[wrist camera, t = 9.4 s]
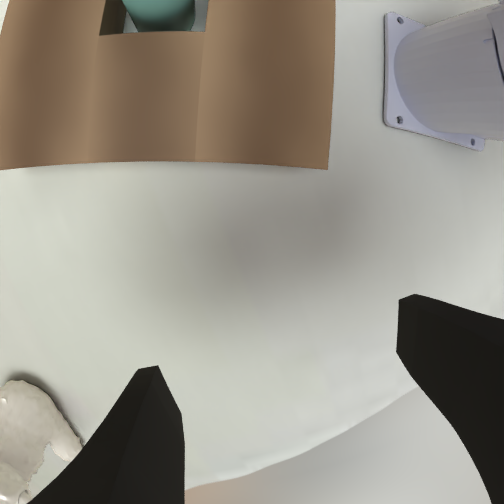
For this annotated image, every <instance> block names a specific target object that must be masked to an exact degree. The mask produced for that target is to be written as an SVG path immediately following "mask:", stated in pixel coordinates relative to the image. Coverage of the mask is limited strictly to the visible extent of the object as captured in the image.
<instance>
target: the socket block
mask: <svg viewBox="0 0 504 504" xmlns="http://www.w3.org/2000/svg"><path fill="white" fill-rule="evenodd" d="M126 10H127V9H126V7H125V5H124V3H123V1H122V0H10V1H9V4H8V7H7V11H6V15H5V18H4V22H3V26H2V30H1V35H0V170H7V169H16V168H26V167H37V166H49V165H62V164H78V163H99V162H133V161H189V162H224V163H246V164H263V165H278V166H291V167H303V168H314V169H324V170H327V169H328V158H329V146H330V133H331V119H332V103H333V84H334V59H335V0H209V2H208V10H207V18H206V27H205V32H194V31H162V32H138V33H123V27H124V21H125V15H126ZM122 33H123V34H122Z"/></svg>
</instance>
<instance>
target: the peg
mask: <svg viewBox="0 0 504 504" xmlns="http://www.w3.org/2000/svg"><path fill="white" fill-rule="evenodd" d="M122 1H123V3H124V5H125V7H126V9H127V11H128V13H129V15H130V17H131V19H132V21H133V23H134V24H135V26H136V28H137V30H138V32H162V31H190V29H191V28H192V26H193V23H194V16H195V0H122Z"/></svg>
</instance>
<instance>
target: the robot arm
mask: <svg viewBox="0 0 504 504" xmlns="http://www.w3.org/2000/svg"><path fill="white" fill-rule="evenodd" d="M499 2H500V3H498V4H495V5H491V6H487V7H484V8H480V9H477V10H474V11H470V12H467V13H464V14H461V15H458V16H455V17H452V18H449V19H446V20H443V21H440V22H438V23H435V24H432V25H429V26H426V25H423V24H421V23H419V22H416V21H414V20H412V19H409V18H407V17H404V16H402V15H399V14H397V13H394V12H388V13H386V15H385V99H384V121H385V123H386V124H387V125H388V126H390V127H394V128H399V129H403V130H407V131H411V132H415V133H419V134H422V135H426V136H430V137H433V138H437V139H441V140H444V141H447V142H451V143H454V144H457V145H460V146H464V147H467V148H470V149H473V150H476V151H483V149H484V144H485V139H491V140H500V141H504V0H499ZM397 19H398V20H399V21H400V23H399V22H398V21H397ZM397 117H399V119H400V122H399V124H398V123H397V120H396V119H397ZM396 353H397V354H398V356H399V358H400V359H401V361H402V363H403V364H404V366H405V367H406V369H407V371H408V372H409V374H410V375H411V377H412V378H413V379H414V380H415V382H416V383H417V384H418V385H419V386H420V387H421V389H422V390H423V391H424V392H425V394H426V395H427V396H428V397H429V398H430V400H432V402H433V403H434V404H435V405H436V407H437V408H438V409H439V410H440V411H441V413H442V414H443V415H444V416H445V418H446V419H447V420H448V421H449V423H450V424H451V425H452V427H453V428H454V429H455V431H456V432H457V434H458V435H459V437H460V439H461V441H462V442H463V444H464V446H465V447H466V449H467V451H468V452H469V454H470V456H471V458H472V460H473V462H474V464H475V466H476V468H477V469H478V471H479V473H480V476H481V478H482V480H483V483H484V485H485V487H486V490H487V492H488V494H489V497H490V500H491V503H492V504H504V319H500V318H496V317H492V316H488V315H485V314H481V313H478V312H475V311H471V310H468V309H465V308H462V307H459V306H455V305H452V304H449V303H446V302H443V301H440V300H436V299H433V298H430V297H426V296H422V295H418V294H413V295H410V296H408V297H405V298H402V299H399V311H398V333H397V348H396ZM184 472H185V441H184V432H183V423H182V415H181V412H180V410H179V408H178V406H177V404H176V402H175V400H174V398H173V396H172V394H171V392H170V390H169V388H168V386H167V384H166V382H165V379H164V377H163V375H162V373H161V371H160V369H159V366H158V365H157V366H152V367H147V368H141V369H138V370H137V371H136V373H135V374H134V376H133V377H132V379H131V380H130V382H129V383H128V385H127V386H126V388H125V389H124V391H123V392H122V394H121V395H120V397H119V398H118V400H117V401H116V403H115V404H114V406H113V407H112V409H111V410H110V412H109V413H108V415H107V416H106V418H105V419H104V421H103V422H102V423H101V425H100V426H99V427H98V429H97V430H96V431H95V433H94V434H93V435H92V437H91V438H90V439H89V441H88V442H87V443H86V445H85V446H84V447H83V448H82V450H81V451H80V452H79V453H78V455H77V456H76V457H75V458H74V459H73V460H72V461H71V463H70V464H69V465H68V466H67V467H66V468H65V469H64V470H63V471H62V472H61V473H60V474H59V475H58V476H57V477H56V478H55V479H54V480H53V481H52V482H51V483H50V484H49V485H48V486H47V487H45V488H44V489H43V490H42V491H41V492H40V493H39V494H38V495H37V496H36V497H34V498H33V499H32V500H31V501H29V502H28V503H27V504H184Z"/></svg>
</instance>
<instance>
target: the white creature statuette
mask: <svg viewBox="0 0 504 504" xmlns="http://www.w3.org/2000/svg"><path fill="white" fill-rule="evenodd" d="M48 443H50V445H51V447H52V449H53V451H54V453H55V454H56V455H59V456H60V457H61V458H62V459H63V460H64V461H65V460H67V461H70V462H71V461H72V460H73V459H74V458H75V457H76V456H77V455H78V453H79V452H80V451H81V450H82V446H81V444H80V437H77V436H76V435H75V434H74V432H73V430H72V429H71V428H70V426H69V424H68V422H67V421H66V420H65V419H64V418H63V416H62V413H60V411H59V410H57V408H56V406H55V405H54V402H53V401H52V400H51V398H50V396H48V394H47V393H45V392H43V390H42V389H40V388H38V387H36V386H34V385H32V384H29V383H26V382H25V381H24V380H20V381H12V380H10V381H9V382H6V384H5V385H4V386H3V387H0V504H27V503H28V502H29V501H31V500H32V499H33V498H32V496H31V491H30V490H29V484H28V483H27V482H30V481H31V477H32V474H36V473H37V470H38V468H39V467H40V466H41V465H42V463H43V462H44V459H43V453H44V450H45V448H46V445H47V444H48Z"/></svg>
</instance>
